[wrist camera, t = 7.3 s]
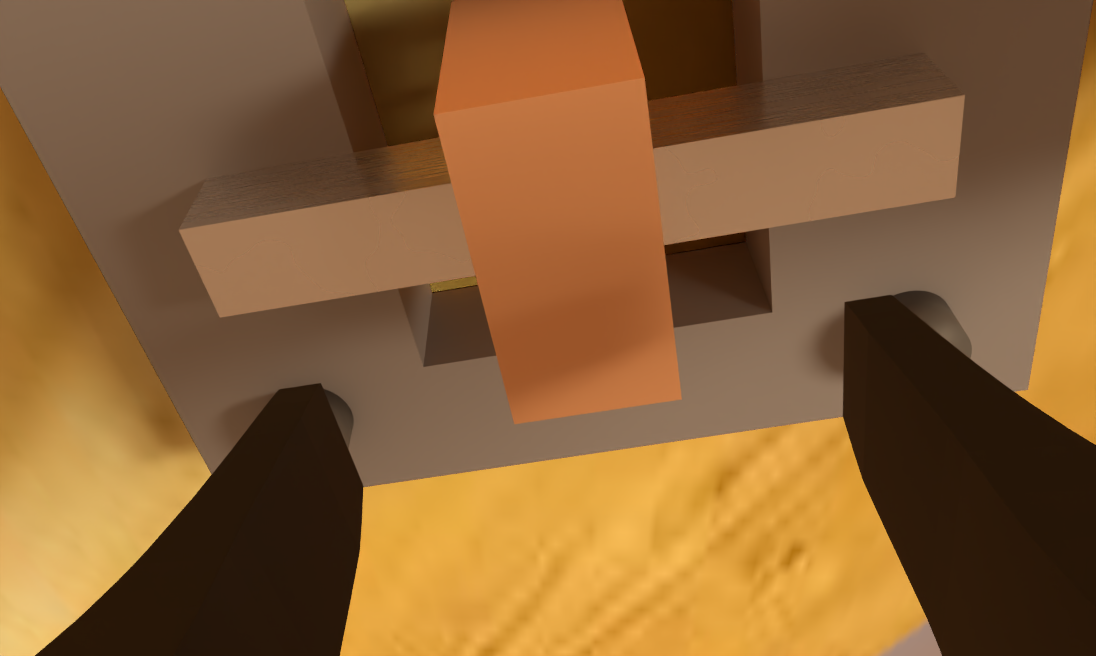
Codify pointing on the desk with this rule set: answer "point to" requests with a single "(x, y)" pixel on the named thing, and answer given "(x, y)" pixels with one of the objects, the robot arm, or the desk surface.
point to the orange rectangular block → (559, 202)
